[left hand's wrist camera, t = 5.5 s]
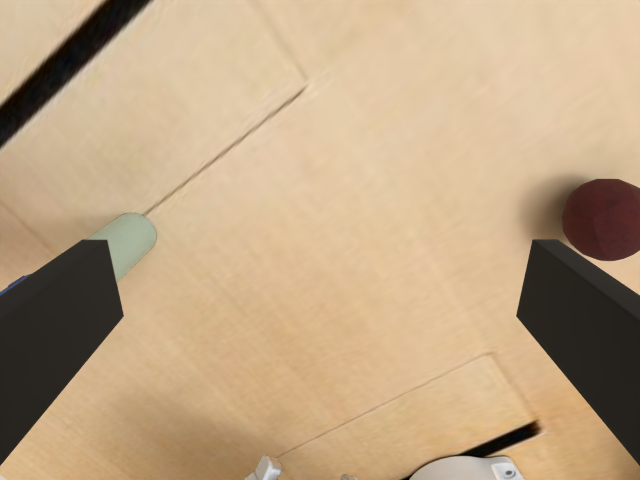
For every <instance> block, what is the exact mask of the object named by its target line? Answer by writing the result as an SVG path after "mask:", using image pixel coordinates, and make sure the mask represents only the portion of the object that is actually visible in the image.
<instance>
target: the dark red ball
mask: <svg viewBox="0 0 640 480" xmlns="http://www.w3.org/2000/svg"><path fill="white" fill-rule="evenodd" d="M562 219H563V231H564V233H565V235H566V237H567V238H568V240H569V242H570V243H571V244H572V245H573V246H574V247H575V248H576V249H577V250H579V251H580V252H581V253H582V254H584V255H586V256H589V257H592V258H594V259H597V260H601V261H615V260H620V259H624V258H627V257H629V256H631V255H633V254H635V253H636V252H638V251H639V250H640V188H638V187H636V186H634V185H632V184H629V183H627V182H624V181H622V180H619V179H596V180H593V181H590V182H587V183H584V184H582V185H581V186H580V187H579V188H577V189H576V190H575V191H574V192H573V193H572V194H571V196H570V197H569V199H568V200H567V203H566V207H565V210H564V213H563V217H562Z"/></svg>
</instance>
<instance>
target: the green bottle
mask: <svg viewBox="0 0 640 480" xmlns="http://www.w3.org/2000/svg"><path fill="white" fill-rule="evenodd" d="M86 240H108V245H109V250H110V254H111V259H112V264H113V268H114V273H115V278H116V282H117V283H118V282H119V281H120V280H121V279H122V278H123V277H124V276H125V275H126V274H127V273H128V272H129V271H130V269H131V268H132V267H133V266H134V265H135V264H136V263H137V262H138V261H139V260H140V259H141V258H142V257H143V256H144V255H145V254H146V253H147V252H148V251H149V250H150V249H151V248H152V247H153V246H154V244H155V242H156V230H155V228H154V226H153V224H152V223H151V222H150V221H149V220H148V219H147V218H146V217H144V216H142V215H140V214H136V213H126V214H123V215H121V216H119V217H118V218H116V219H115V220H113V221H112V222H111V223H109V224H108V225H106V226H105V227H103V228H102V229H100V230H99V231H98V232H96V233H95V234H93V235H92V236H90V237H89V238H87V239H86Z"/></svg>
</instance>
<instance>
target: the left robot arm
mask: <svg viewBox="0 0 640 480" xmlns="http://www.w3.org/2000/svg"><path fill="white" fill-rule="evenodd" d="M123 316H124V315H123V310H122V306H121V301H120V296H119V292H118V287H117V282H116V278H115V273H114V268H113V264H112V259H111V254H110V250H109V245H108V240H81V241H80V242H78V243H77V244H75V245H74V246H72V247H71V248H69V249H68V250H67V251H65V252H64V253H62V254H61V255H59V256H58V257H56V258H55V259H53V260H52V261H50V262H49V263H47V264H46V265H44V266H43V267H41V268H40V269H39V270H37V271H36V272H34V273H33V274H31V275H30V276H28V277H27V278H25V279H24V280H22V281H21V282H19V283H18V284H16V285H15V286H14V287H12V288H11V289H9V290H8V291H6V292H5V293H3V294H2V295H0V465H1V464H2V463H3V462H4V461H5V459H6V458H7V457H8V456H9V455H10V453H11V452H12V451H13V450H14V448H15V447H16V446H17V445H18V444H19V442H20V441H21V440H22V439H23V438H24V436H25V435H26V434H27V433H28V432H29V430H30V429H31V428H32V427H33V425H34V424H35V423H36V422H37V421H38V419H39V418H40V417H41V416H42V415H43V413H44V412H45V411H46V410H47V408H48V407H49V406H50V405H51V404H52V402H53V401H54V400H55V399H56V398H57V396H58V395H59V394H60V393H61V392H62V390H63V389H64V388H65V387H66V385H67V384H68V383H69V382H70V381H71V379H72V378H73V377H74V376H75V375H76V373H77V372H78V371H79V370H80V369H81V367H82V366H83V365H84V364H85V362H86V361H87V360H88V359H89V358H90V356H91V355H92V354H93V353H94V352H95V350H96V349H97V348H98V347H99V345H100V344H101V343H102V342H103V341H104V339H105V338H106V337H107V336H108V335H109V333H110V332H111V331H112V330H113V329H114V327H115V326H116V325H117V324H118V322H119V321H120V320H121V319H122V318H123ZM516 316H517V318H518V319H519V320H520V321H521V322H522V324H523V325H524V326H525V327H526V329H527V330H528V331H529V332H530V333H531V335H532V336H533V337H534V338H535V339H536V341H537V342H538V343H539V344H540V345H541V347H542V348H543V349H544V350H545V352H546V353H547V354H548V355H549V356H550V358H551V359H552V360H553V361H554V362H555V364H556V365H557V366H558V367H559V369H560V370H561V371H562V372H563V373H564V375H565V376H566V377H567V378H568V379H569V381H570V382H571V383H572V384H573V385H574V387H575V388H576V389H577V390H578V392H579V393H580V394H581V395H582V396H583V398H584V399H585V400H586V401H587V402H588V404H589V405H590V406H591V407H592V408H593V410H594V411H595V412H596V413H597V415H598V416H599V417H600V418H601V419H602V421H603V422H604V423H605V424H606V425H607V427H608V428H609V429H610V430H611V432H612V433H613V434H614V435H615V436H616V438H617V439H618V440H619V441H620V442H621V444H622V445H623V446H624V447H625V448H626V450H627V451H628V452H629V453H630V455H631V456H632V457H633V458H634V459H635V461H636V462H637V463H638V464H639V465H640V295H638V294H637V293H635V292H634V291H632V290H631V289H629V288H628V287H626V286H625V285H624V284H622V283H621V282H619V281H618V280H616V279H615V278H613V277H612V276H610V275H609V274H607V273H606V272H604V271H603V270H601V269H600V268H598V267H597V266H596V265H594V264H593V263H591V262H590V261H588V260H587V259H585V258H584V257H582V256H581V255H579V254H578V253H576V252H575V251H573V250H572V249H571V248H569V247H568V246H566V245H565V244H563V243H562V242H560V241H559V240H532V245H531V250H530V254H529V259H528V264H527V268H526V273H525V278H524V282H523V287H522V292H521V296H520V301H519V306H518V310H517V315H516Z"/></svg>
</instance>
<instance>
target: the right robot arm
mask: <svg viewBox="0 0 640 480" xmlns="http://www.w3.org/2000/svg"><path fill="white" fill-rule="evenodd" d="M281 471H282V466H281V464H280V463H279V460H278V459H277V458H273V457H269V456H265V455H263V456H262V457H261V459H260V462H259V464H258V466H257V468H256V470H255V472H252V473H251V474H250V475H249V476H247V477H246V478H245V479H244V480H277V477H278V476H279V475H280V474H281ZM341 480H358V479H357V477H355V476H350V475H346V474H343V475H342V477H341ZM409 480H525V479H524V477H523V476H522V474H521V473H520V471H519V470H518V468H517V467H516V465H515V464H514V462H513V461H512V459H511V458H509V457H506V456H500V457H492V458H477V457H471V456H454V457H448V458H443V459H440V460H437V461H434V462H432V463H429V464H427V465H426V466H424V467H422V468H421V469H419V470H418V471H417V472H416V473H415V474H414V475H413V476H412V477H411V478H410V479H409Z"/></svg>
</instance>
